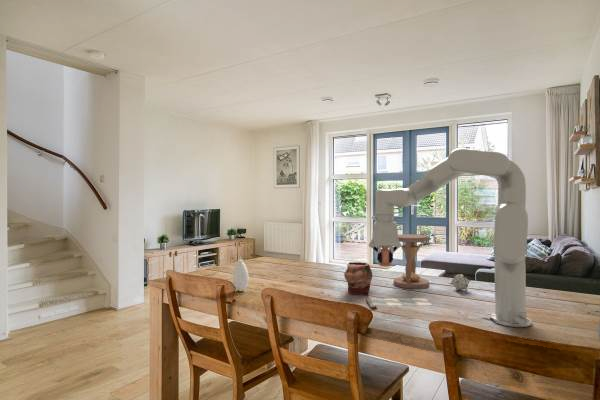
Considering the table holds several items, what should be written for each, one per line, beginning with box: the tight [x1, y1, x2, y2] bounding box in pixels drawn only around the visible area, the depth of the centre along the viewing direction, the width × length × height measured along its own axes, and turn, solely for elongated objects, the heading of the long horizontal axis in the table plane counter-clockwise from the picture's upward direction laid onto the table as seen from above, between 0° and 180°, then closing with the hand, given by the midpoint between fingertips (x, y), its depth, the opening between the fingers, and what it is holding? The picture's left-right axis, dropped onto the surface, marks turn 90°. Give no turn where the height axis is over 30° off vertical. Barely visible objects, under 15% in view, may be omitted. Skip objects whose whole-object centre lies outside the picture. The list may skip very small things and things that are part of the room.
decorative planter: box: [343, 261, 373, 296], centre depth 171 cm, size 20×12×14 cm, turn 148°
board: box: [366, 297, 433, 310], centre depth 150 cm, size 12×26×1 cm, turn 88°
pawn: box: [378, 246, 392, 268], centre depth 150 cm, size 5×5×10 cm
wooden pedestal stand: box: [393, 233, 430, 290], centre depth 183 cm, size 18×18×25 cm
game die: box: [449, 272, 472, 293], centre depth 170 cm, size 9×8×10 cm
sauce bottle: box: [231, 255, 250, 291], centre depth 176 cm, size 8×8×18 cm
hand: (385, 262), depth 150 cm, fingers closed on pawn, 3 cm apart
